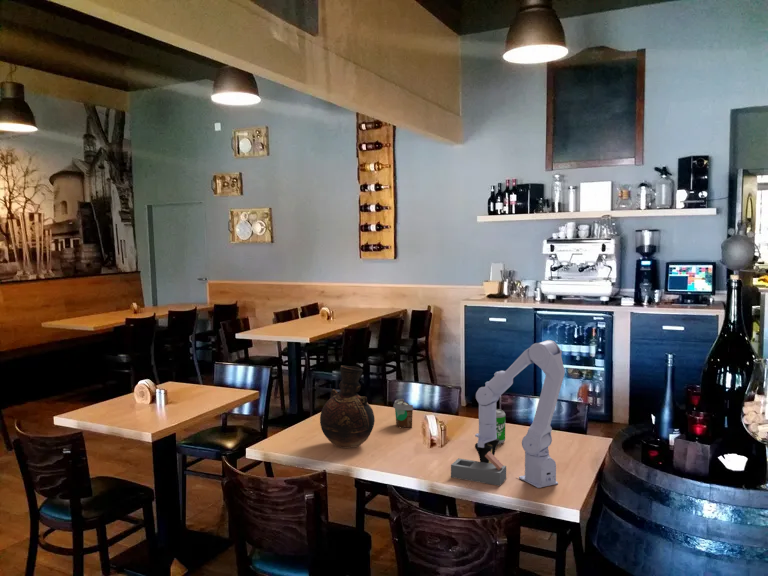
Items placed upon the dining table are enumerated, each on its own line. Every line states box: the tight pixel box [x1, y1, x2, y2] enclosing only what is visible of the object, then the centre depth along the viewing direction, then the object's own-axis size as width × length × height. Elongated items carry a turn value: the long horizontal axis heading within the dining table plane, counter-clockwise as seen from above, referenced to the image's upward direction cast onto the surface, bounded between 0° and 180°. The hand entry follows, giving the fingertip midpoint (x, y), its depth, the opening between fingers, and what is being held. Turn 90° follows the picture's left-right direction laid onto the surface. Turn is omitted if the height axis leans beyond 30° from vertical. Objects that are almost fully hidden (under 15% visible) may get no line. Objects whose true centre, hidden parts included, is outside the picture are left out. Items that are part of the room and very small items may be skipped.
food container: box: [392, 398, 414, 429], centre depth 250 cm, size 12×6×10 cm, turn 17°
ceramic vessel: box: [319, 365, 376, 449], centre depth 224 cm, size 21×18×30 cm
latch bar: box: [485, 451, 504, 470], centre depth 189 cm, size 6×3×1 cm
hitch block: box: [450, 458, 507, 487], centre depth 191 cm, size 16×7×4 cm, turn 63°
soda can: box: [496, 408, 506, 445], centre depth 228 cm, size 8×8×12 cm
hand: (487, 462), depth 199 cm, fingers open, 5 cm apart
